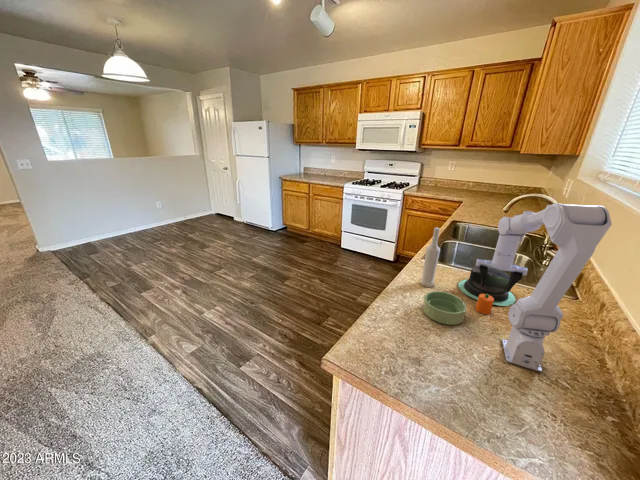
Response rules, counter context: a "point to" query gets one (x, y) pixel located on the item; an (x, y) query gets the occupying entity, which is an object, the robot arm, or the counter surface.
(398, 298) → the counter surface
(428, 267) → the bottle
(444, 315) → the bowl
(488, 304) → the pepper
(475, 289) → the chocolate cake
